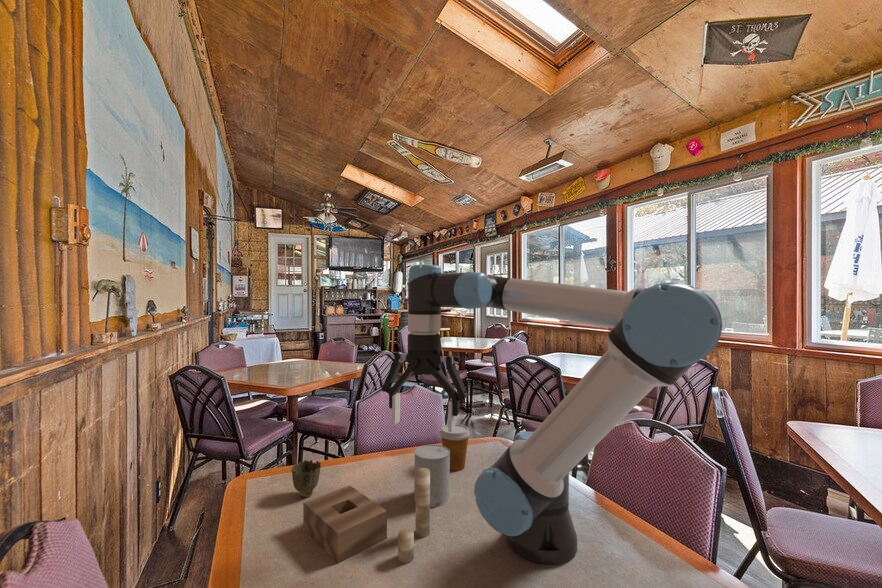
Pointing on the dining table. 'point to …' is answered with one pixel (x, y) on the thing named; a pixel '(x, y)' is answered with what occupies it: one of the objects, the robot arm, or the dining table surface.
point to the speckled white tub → (435, 471)
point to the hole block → (344, 522)
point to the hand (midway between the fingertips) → (423, 426)
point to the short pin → (405, 546)
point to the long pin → (422, 502)
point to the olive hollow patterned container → (306, 477)
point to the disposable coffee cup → (456, 445)
